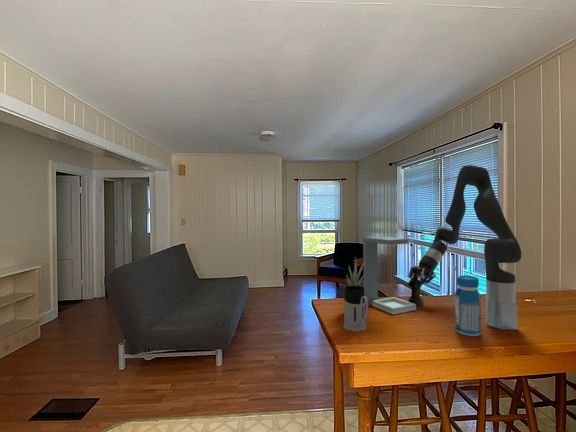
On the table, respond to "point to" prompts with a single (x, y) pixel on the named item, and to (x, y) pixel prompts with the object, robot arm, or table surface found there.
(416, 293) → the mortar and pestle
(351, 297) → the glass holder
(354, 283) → the potted plant
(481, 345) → the table surface
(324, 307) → the table surface
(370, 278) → the overhang shelf
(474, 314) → the beverage bottle
